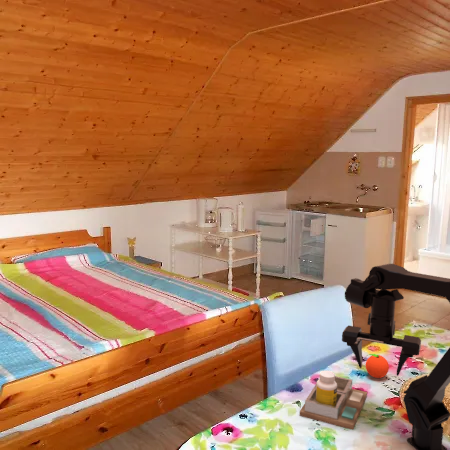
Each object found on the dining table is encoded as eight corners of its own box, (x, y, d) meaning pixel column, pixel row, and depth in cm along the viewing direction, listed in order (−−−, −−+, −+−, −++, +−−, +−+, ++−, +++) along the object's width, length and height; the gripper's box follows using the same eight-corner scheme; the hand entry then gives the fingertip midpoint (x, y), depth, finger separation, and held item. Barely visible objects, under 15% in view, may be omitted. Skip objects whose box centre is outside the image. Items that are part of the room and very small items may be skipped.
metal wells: (337, 419, 122) (337, 409, 121) (304, 411, 125) (305, 400, 125) (351, 389, 137) (352, 379, 137) (322, 382, 141) (322, 373, 140)
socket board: (353, 429, 119) (353, 423, 119) (299, 415, 126) (299, 409, 125) (366, 396, 136) (367, 390, 136) (318, 385, 142) (319, 379, 142)
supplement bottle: (336, 414, 124) (338, 379, 122) (315, 412, 125) (316, 377, 123) (335, 404, 129) (337, 370, 128) (315, 401, 130) (316, 368, 129)
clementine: (357, 374, 149) (358, 353, 148) (370, 368, 153) (371, 347, 152) (380, 384, 143) (381, 362, 142) (392, 377, 147) (394, 355, 146)
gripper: (424, 309, 123) (420, 366, 126) (352, 299, 132) (349, 352, 134) (421, 323, 114) (416, 384, 116) (342, 311, 122) (340, 368, 124)
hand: (378, 371), depth 123 cm, fingers open, 9 cm apart
